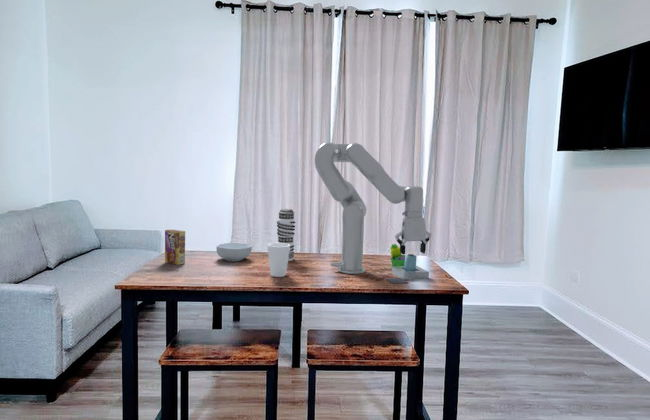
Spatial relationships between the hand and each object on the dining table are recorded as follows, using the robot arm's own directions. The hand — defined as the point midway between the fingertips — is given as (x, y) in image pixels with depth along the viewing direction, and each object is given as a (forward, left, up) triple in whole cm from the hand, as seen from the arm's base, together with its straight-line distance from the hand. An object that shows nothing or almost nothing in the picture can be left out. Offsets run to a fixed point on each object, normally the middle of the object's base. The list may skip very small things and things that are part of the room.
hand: (412, 253), depth 192 cm
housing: (-1, 0, -10) cm, 10 cm away
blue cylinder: (-1, 0, -10) cm, 10 cm away
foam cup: (-58, +10, -10) cm, 60 cm away
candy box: (-101, +38, -10) cm, 108 cm away
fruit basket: (+1, +15, -10) cm, 19 cm away
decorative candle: (-49, +40, -10) cm, 64 cm away
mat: (-11, -8, -10) cm, 17 cm away
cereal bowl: (-74, +42, -10) cm, 86 cm away
